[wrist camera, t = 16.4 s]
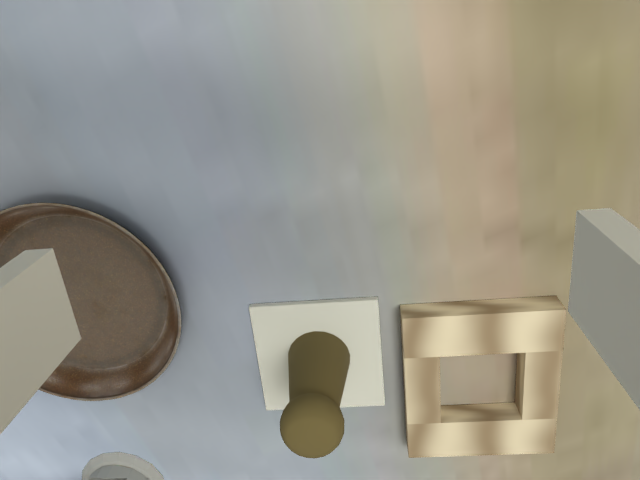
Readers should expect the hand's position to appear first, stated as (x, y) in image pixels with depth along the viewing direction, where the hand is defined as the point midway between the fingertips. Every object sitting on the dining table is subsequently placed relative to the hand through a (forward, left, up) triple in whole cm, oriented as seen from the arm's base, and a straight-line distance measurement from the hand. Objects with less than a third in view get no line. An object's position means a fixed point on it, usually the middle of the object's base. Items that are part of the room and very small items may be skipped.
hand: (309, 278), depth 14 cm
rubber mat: (-4, -24, -32) cm, 40 cm away
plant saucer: (-26, -16, -32) cm, 44 cm away
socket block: (+11, -27, -32) cm, 43 cm away
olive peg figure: (-4, -24, -31) cm, 40 cm away
